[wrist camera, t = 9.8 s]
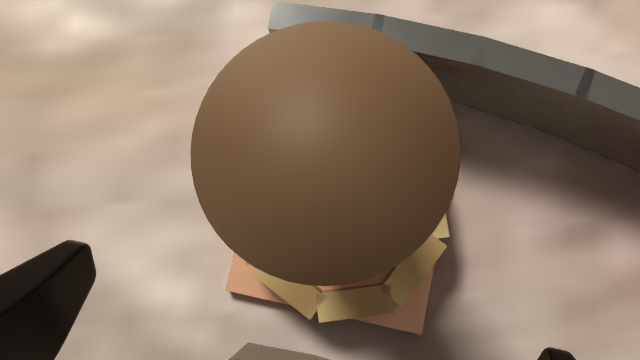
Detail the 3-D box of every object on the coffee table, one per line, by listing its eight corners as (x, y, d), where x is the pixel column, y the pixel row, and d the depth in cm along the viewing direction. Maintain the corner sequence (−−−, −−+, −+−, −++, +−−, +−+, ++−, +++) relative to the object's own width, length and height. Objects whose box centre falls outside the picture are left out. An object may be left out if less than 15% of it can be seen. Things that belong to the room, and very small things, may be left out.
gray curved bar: (777, 575, 17) (902, 671, 13) (200, 429, 19) (160, 474, 15) (815, 138, 19) (935, 109, 15) (288, 44, 21) (274, -4, 17)
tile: (420, 333, 19) (421, 334, 19) (228, 289, 20) (225, 290, 19) (455, 141, 20) (457, 138, 20) (270, 106, 21) (269, 103, 20)
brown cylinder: (454, 300, 19) (673, 403, 6) (259, 326, 19) (73, 478, 6) (421, 110, 20) (545, -145, 7) (237, 138, 20) (40, -58, 7)
